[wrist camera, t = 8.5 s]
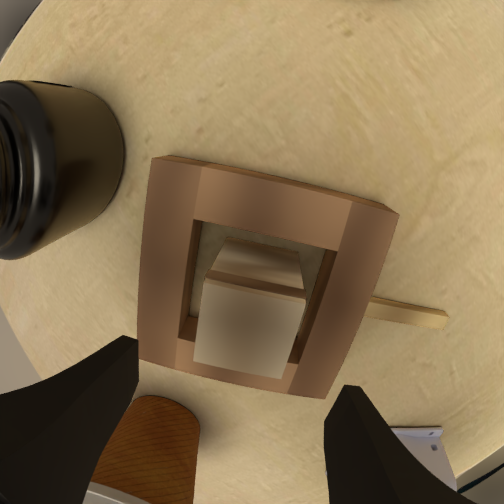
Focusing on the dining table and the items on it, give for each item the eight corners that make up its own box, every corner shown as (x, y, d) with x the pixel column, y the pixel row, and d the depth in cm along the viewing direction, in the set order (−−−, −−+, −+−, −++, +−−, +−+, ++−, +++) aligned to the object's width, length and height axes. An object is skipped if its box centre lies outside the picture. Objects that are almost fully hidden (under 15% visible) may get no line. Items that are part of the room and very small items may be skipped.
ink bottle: (71, 59, 14) (-84, 31, 3) (160, 141, 16) (-16, 159, 5) (5, 174, 17) (-125, 218, 6) (76, 256, 19) (-53, 355, 8)
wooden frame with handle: (475, 234, 16) (496, 247, 14) (405, 383, 20) (415, 406, 18) (169, 155, 16) (151, 158, 14) (150, 336, 20) (136, 358, 18)
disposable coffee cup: (94, 391, 23) (31, 491, 12) (177, 368, 21) (118, 511, 10) (156, 455, 26) (121, 551, 14) (239, 443, 24) (220, 565, 12)
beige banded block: (299, 251, 18) (307, 303, 12) (281, 313, 19) (281, 380, 13) (226, 235, 18) (202, 281, 12) (215, 299, 19) (191, 361, 13)
